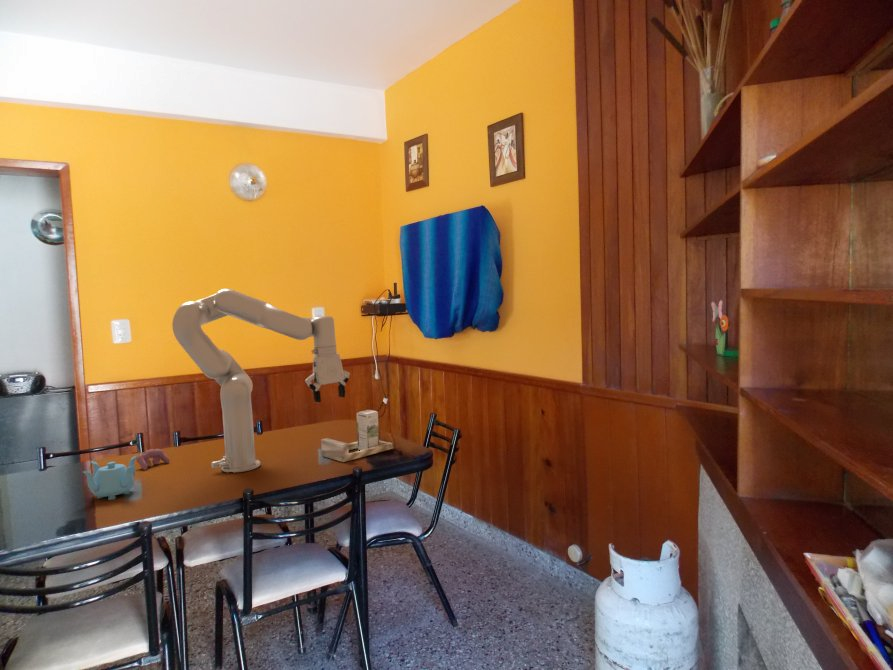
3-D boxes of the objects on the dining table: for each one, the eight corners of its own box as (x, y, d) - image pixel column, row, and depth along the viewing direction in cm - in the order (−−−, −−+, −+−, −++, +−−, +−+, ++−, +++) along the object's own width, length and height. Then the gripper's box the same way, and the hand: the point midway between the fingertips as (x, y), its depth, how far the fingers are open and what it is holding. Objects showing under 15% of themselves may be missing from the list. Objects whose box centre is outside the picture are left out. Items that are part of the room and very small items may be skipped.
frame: (343, 462, 196) (342, 445, 196) (321, 455, 206) (321, 439, 205) (392, 448, 212) (391, 432, 212) (370, 443, 221) (369, 427, 221)
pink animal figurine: (164, 466, 208) (158, 448, 209) (171, 461, 205) (164, 443, 207) (138, 474, 199) (132, 455, 200) (145, 469, 197) (138, 450, 198)
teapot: (94, 492, 176) (91, 460, 175) (142, 485, 181) (139, 454, 180) (84, 505, 164) (81, 471, 163) (136, 498, 169) (133, 464, 168)
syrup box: (369, 447, 216) (367, 409, 216) (379, 449, 213) (378, 410, 212) (357, 450, 212) (355, 412, 211) (368, 453, 208) (366, 413, 207)
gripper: (308, 354, 193) (313, 404, 194) (352, 348, 204) (356, 396, 205) (298, 354, 198) (302, 402, 199) (341, 348, 210) (345, 394, 211)
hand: (330, 399), depth 202 cm, fingers open, 9 cm apart
